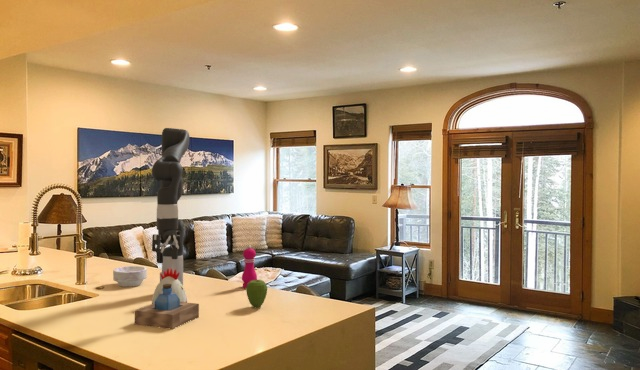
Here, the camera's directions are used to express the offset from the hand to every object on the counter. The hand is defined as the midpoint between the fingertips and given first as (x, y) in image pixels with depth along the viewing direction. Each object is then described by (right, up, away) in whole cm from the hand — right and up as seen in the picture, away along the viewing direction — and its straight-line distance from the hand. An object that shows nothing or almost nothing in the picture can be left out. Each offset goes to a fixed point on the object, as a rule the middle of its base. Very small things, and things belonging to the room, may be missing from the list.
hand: (167, 261), depth 182 cm
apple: (+30, -22, +19) cm, 42 cm away
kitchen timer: (-6, -22, +23) cm, 32 cm away
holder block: (0, -22, 0) cm, 22 cm away
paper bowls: (-36, -21, +60) cm, 73 cm away
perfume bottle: (0, -21, 0) cm, 21 cm away
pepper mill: (+22, -21, +56) cm, 64 cm away
